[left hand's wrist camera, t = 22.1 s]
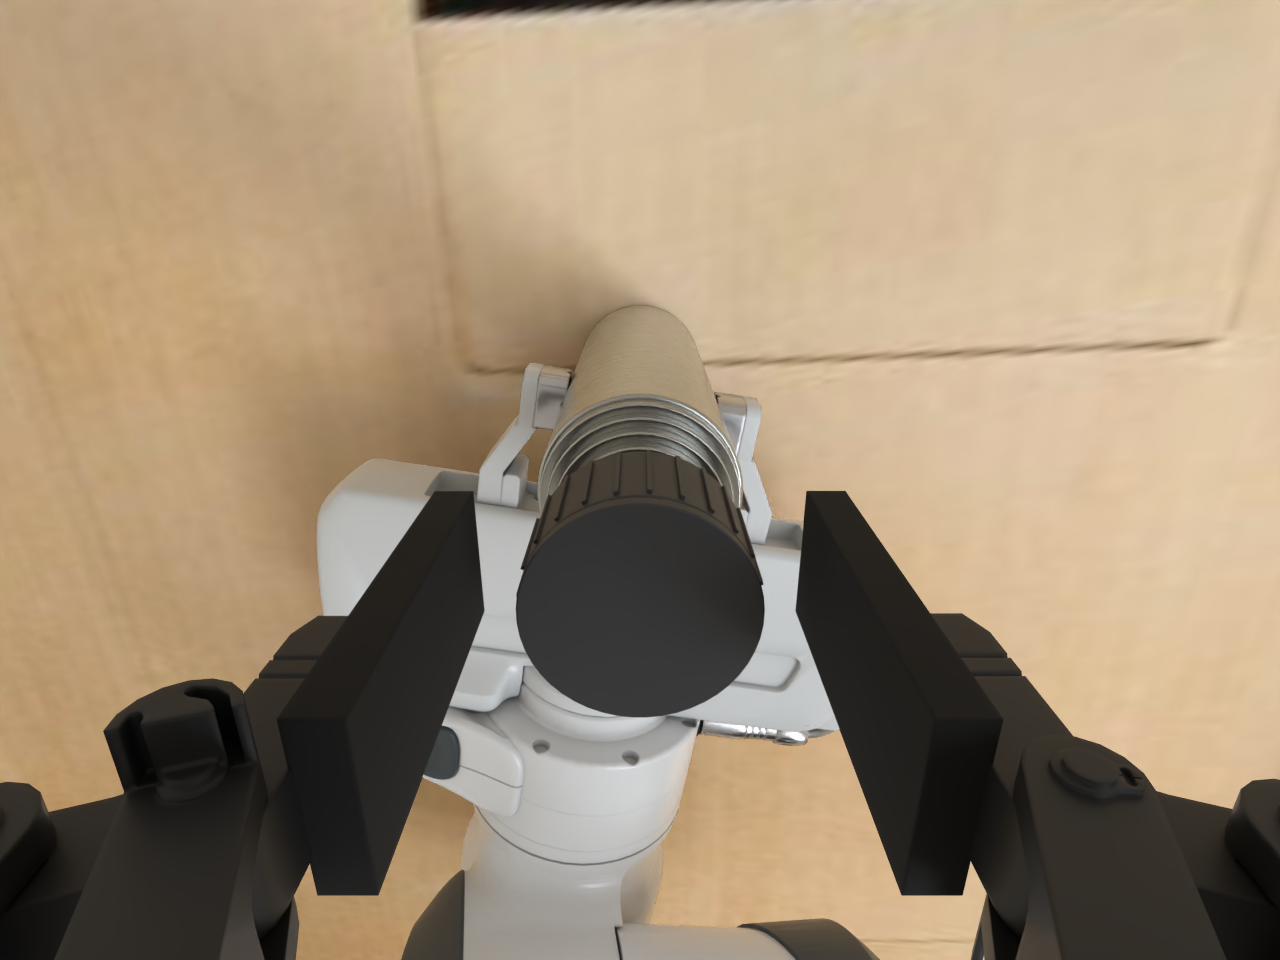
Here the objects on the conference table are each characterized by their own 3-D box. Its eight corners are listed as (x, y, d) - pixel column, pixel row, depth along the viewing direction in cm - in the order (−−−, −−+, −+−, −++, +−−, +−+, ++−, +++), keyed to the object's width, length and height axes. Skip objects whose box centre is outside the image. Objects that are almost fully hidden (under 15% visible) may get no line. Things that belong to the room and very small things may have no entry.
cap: (551, 427, 14) (532, 478, 11) (771, 470, 14) (798, 528, 12) (519, 618, 15) (496, 698, 13) (717, 653, 16) (731, 737, 13)
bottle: (564, 395, 31) (465, 660, 13) (607, 285, 29) (557, 424, 12) (670, 437, 32) (708, 743, 14) (717, 333, 30) (828, 530, 12)
